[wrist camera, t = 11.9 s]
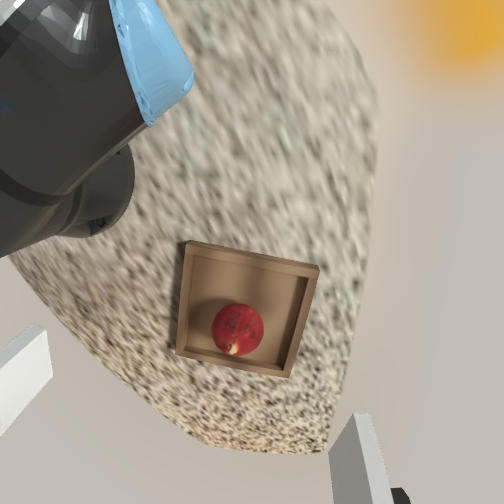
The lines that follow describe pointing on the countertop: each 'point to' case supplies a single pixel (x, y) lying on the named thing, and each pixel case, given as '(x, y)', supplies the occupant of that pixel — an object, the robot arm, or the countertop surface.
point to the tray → (244, 292)
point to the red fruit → (237, 329)
